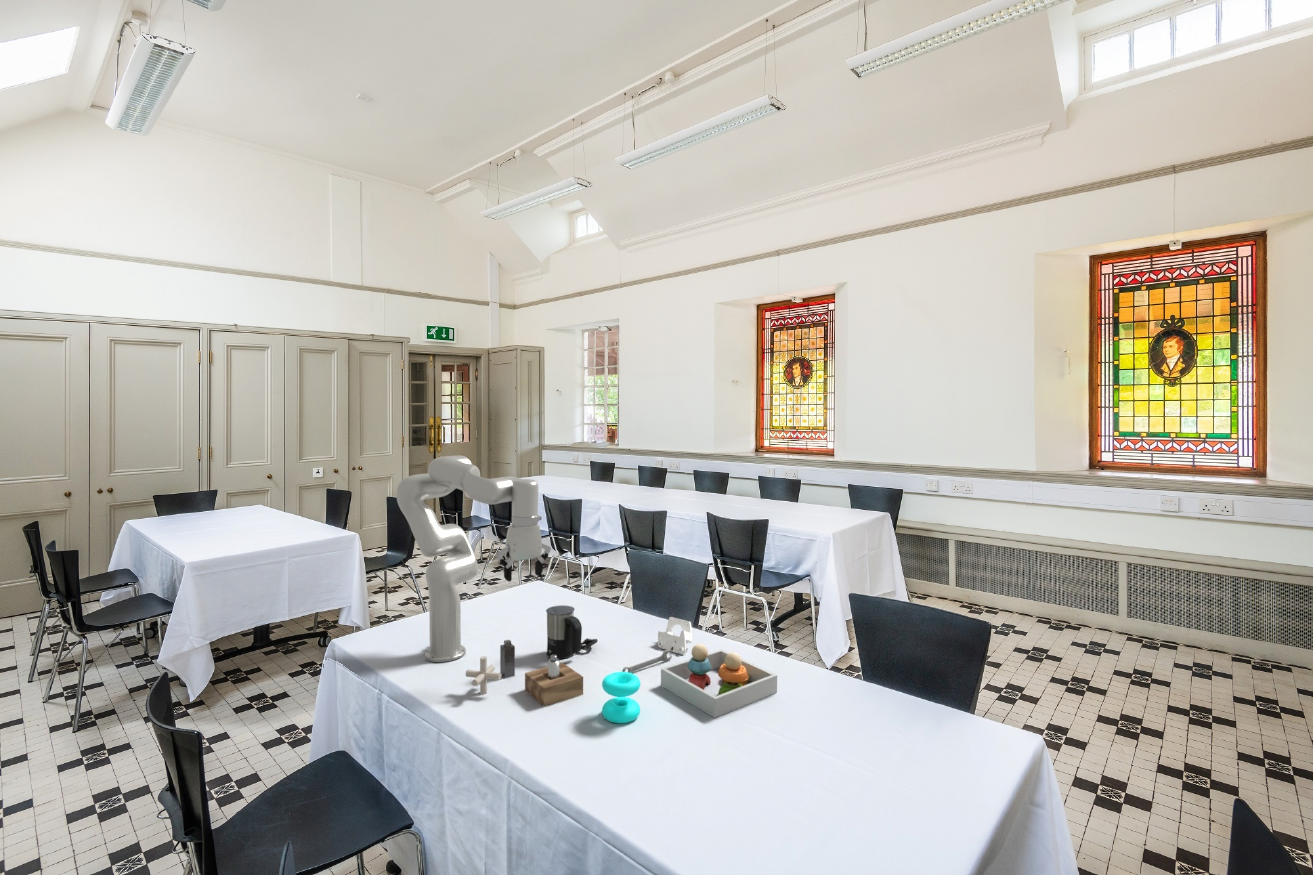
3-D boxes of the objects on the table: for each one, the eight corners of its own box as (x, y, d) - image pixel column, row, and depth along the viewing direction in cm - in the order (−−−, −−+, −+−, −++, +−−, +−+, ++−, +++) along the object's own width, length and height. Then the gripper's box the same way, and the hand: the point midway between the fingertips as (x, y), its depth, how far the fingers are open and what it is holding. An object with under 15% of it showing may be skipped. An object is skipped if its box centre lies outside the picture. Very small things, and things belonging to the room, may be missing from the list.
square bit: (500, 674, 182) (500, 640, 181) (510, 672, 183) (510, 638, 183) (504, 678, 179) (504, 643, 178) (514, 675, 181) (514, 641, 180)
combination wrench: (623, 667, 180) (673, 649, 193) (620, 666, 181) (670, 648, 194) (623, 680, 180) (673, 660, 193) (621, 678, 181) (671, 659, 194)
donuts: (646, 682, 155) (609, 689, 151) (646, 720, 155) (609, 728, 151) (632, 667, 164) (597, 673, 160) (631, 703, 165) (596, 710, 161)
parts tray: (660, 685, 176) (661, 668, 175) (720, 665, 190) (721, 649, 190) (715, 717, 157) (715, 698, 157) (776, 692, 172) (777, 675, 172)
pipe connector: (491, 702, 164) (491, 666, 164) (458, 698, 166) (457, 663, 166) (507, 686, 174) (507, 652, 173) (476, 683, 176) (475, 649, 175)
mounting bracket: (692, 656, 201) (699, 624, 204) (682, 654, 197) (690, 621, 200) (663, 648, 208) (670, 616, 212) (653, 645, 204) (661, 613, 207)
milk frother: (540, 656, 195) (540, 611, 195) (566, 640, 210) (566, 597, 209) (578, 664, 190) (578, 617, 189) (602, 646, 204) (602, 603, 203)
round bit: (545, 691, 171) (545, 655, 170) (555, 688, 173) (556, 652, 172) (551, 696, 168) (551, 658, 168) (561, 692, 170) (561, 656, 170)
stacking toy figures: (755, 679, 180) (756, 638, 180) (743, 706, 164) (744, 660, 164) (697, 670, 187) (698, 630, 186) (680, 694, 170) (681, 650, 170)
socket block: (524, 690, 172) (524, 672, 171) (562, 679, 179) (562, 662, 179) (544, 706, 162) (544, 688, 162) (583, 694, 169) (583, 676, 169)
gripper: (545, 516, 188) (544, 570, 189) (491, 521, 177) (490, 579, 178) (556, 520, 182) (555, 576, 183) (502, 526, 171) (500, 585, 172)
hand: (523, 577), depth 180 cm, fingers open, 9 cm apart
